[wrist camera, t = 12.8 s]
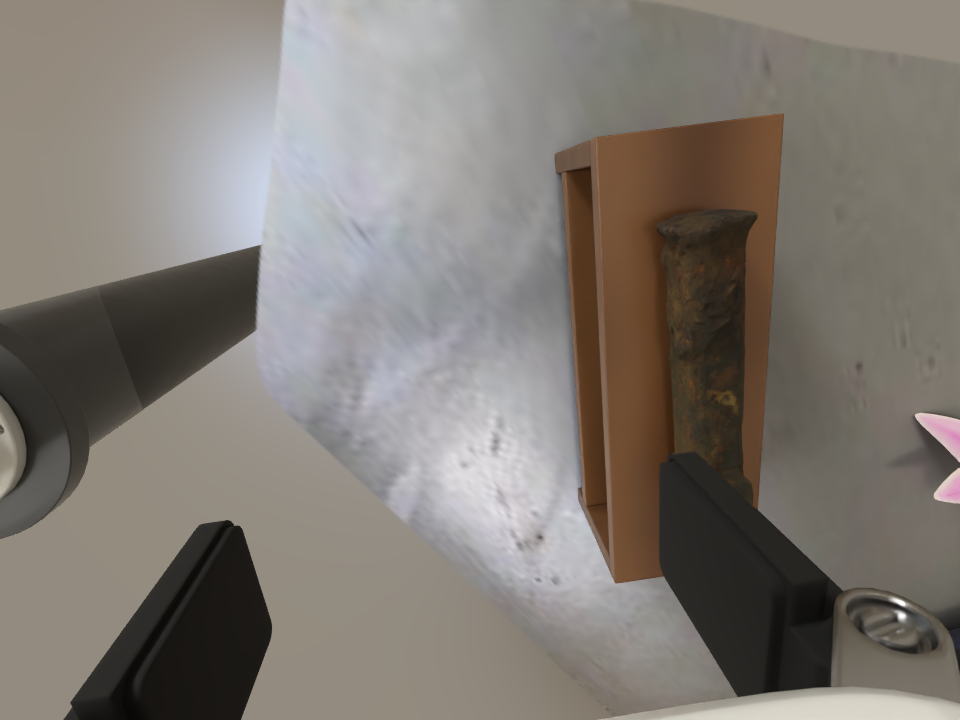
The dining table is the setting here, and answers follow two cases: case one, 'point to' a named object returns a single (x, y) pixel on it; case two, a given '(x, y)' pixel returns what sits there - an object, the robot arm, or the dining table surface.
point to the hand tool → (708, 335)
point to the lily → (956, 440)
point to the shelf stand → (654, 308)
